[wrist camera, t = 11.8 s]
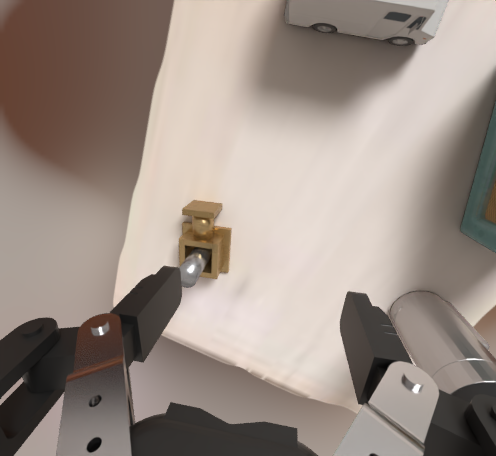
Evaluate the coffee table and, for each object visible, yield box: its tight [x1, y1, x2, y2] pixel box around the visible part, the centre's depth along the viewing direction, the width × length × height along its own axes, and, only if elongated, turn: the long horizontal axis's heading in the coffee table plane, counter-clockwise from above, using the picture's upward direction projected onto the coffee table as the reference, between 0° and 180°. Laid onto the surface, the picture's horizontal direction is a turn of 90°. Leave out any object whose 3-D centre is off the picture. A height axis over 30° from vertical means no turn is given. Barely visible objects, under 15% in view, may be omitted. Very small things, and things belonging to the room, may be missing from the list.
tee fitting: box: [179, 200, 231, 279], centre depth 44 cm, size 9×13×5 cm
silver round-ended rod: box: [179, 247, 212, 288], centre depth 42 cm, size 3×3×10 cm
